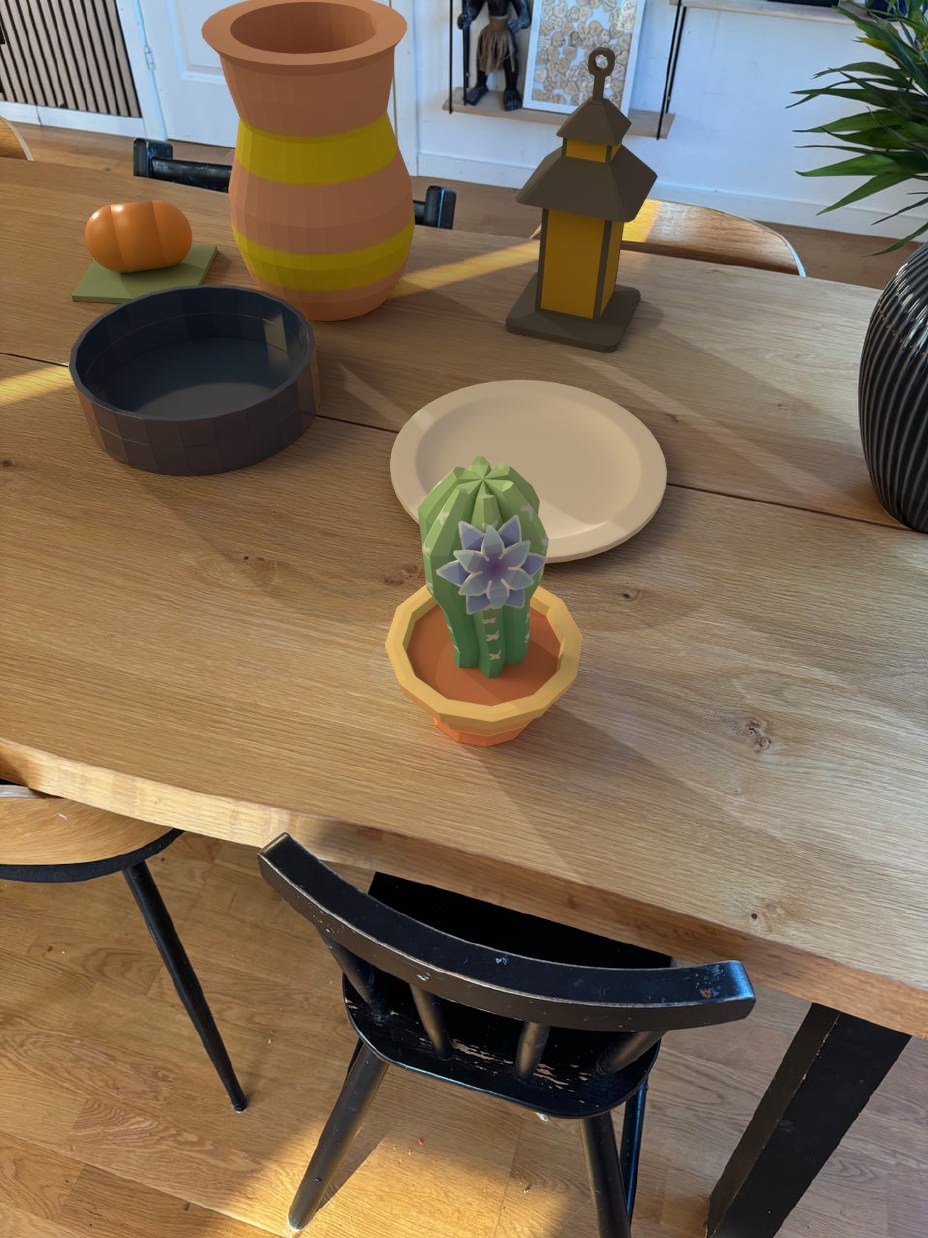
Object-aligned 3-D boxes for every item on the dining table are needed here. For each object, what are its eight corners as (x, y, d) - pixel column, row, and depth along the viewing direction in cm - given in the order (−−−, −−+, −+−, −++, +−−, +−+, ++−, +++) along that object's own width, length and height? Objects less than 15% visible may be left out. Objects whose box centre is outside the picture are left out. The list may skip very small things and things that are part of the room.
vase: (436, 257, 131) (434, 2, 108) (387, 348, 116) (373, 76, 94) (281, 235, 134) (248, -16, 111) (215, 321, 120) (161, 52, 97)
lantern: (537, 274, 128) (556, 17, 106) (642, 296, 125) (685, 35, 102) (502, 330, 119) (515, 62, 97) (614, 354, 116) (655, 83, 94)
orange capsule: (94, 284, 122) (76, 217, 117) (95, 265, 128) (78, 201, 123) (200, 271, 124) (186, 205, 119) (196, 253, 130) (183, 189, 126)
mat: (72, 301, 122) (70, 295, 122) (107, 245, 132) (105, 239, 131) (191, 307, 122) (190, 301, 121) (217, 250, 131) (216, 245, 131)
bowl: (54, 468, 101) (32, 413, 96) (127, 332, 118) (112, 278, 113) (298, 482, 100) (289, 427, 95) (336, 343, 117) (331, 289, 112)
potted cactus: (354, 736, 80) (326, 505, 61) (441, 609, 89) (439, 375, 70) (529, 810, 75) (556, 586, 57) (600, 669, 84) (644, 437, 66)
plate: (703, 554, 94) (708, 536, 92) (415, 594, 90) (415, 576, 88) (615, 384, 112) (618, 367, 110) (373, 411, 108) (371, 394, 106)
